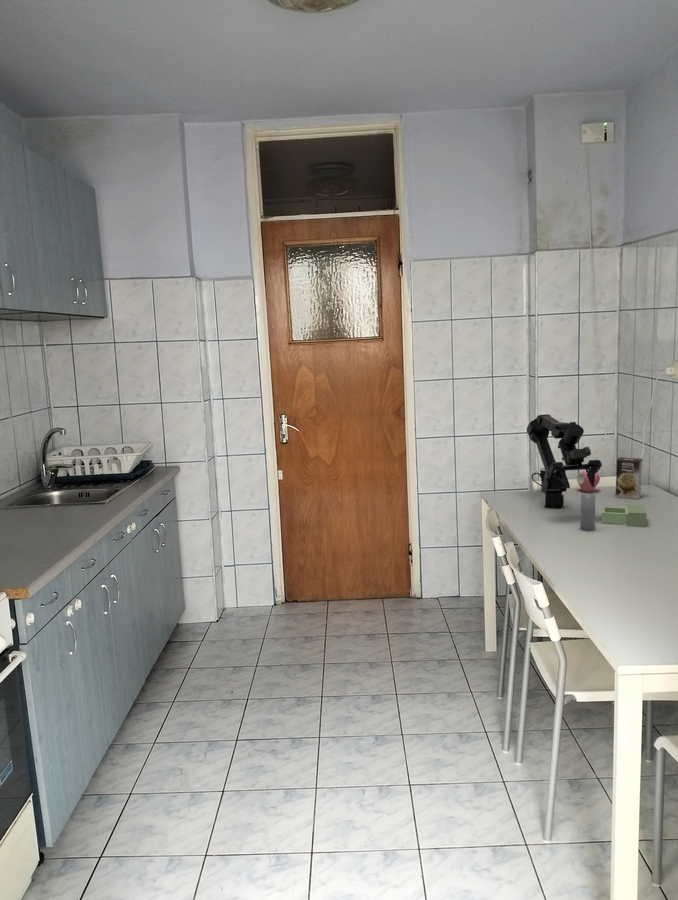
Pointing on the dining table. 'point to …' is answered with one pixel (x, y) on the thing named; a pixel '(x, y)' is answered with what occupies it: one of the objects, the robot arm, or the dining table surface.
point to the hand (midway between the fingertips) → (581, 487)
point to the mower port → (625, 515)
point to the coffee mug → (541, 474)
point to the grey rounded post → (587, 512)
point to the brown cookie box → (628, 478)
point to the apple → (587, 481)
